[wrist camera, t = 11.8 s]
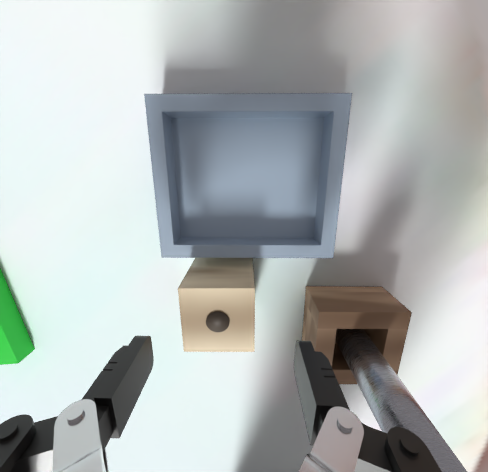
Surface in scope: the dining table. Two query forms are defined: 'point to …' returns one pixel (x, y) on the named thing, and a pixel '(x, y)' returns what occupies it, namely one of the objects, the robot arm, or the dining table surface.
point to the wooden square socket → (354, 323)
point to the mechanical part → (11, 329)
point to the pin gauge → (391, 395)
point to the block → (218, 305)
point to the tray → (247, 173)
